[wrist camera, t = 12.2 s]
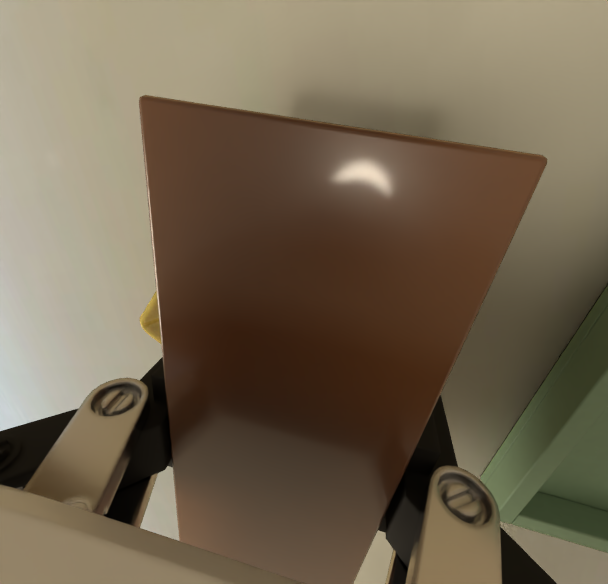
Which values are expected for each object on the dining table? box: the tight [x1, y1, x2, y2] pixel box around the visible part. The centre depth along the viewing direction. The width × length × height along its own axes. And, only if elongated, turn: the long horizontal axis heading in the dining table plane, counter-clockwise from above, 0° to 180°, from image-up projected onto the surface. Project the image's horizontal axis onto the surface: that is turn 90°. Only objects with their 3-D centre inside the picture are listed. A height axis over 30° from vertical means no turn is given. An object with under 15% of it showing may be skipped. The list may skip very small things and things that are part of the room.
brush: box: [139, 95, 547, 584], centre depth 9 cm, size 5×14×6 cm, turn 172°
